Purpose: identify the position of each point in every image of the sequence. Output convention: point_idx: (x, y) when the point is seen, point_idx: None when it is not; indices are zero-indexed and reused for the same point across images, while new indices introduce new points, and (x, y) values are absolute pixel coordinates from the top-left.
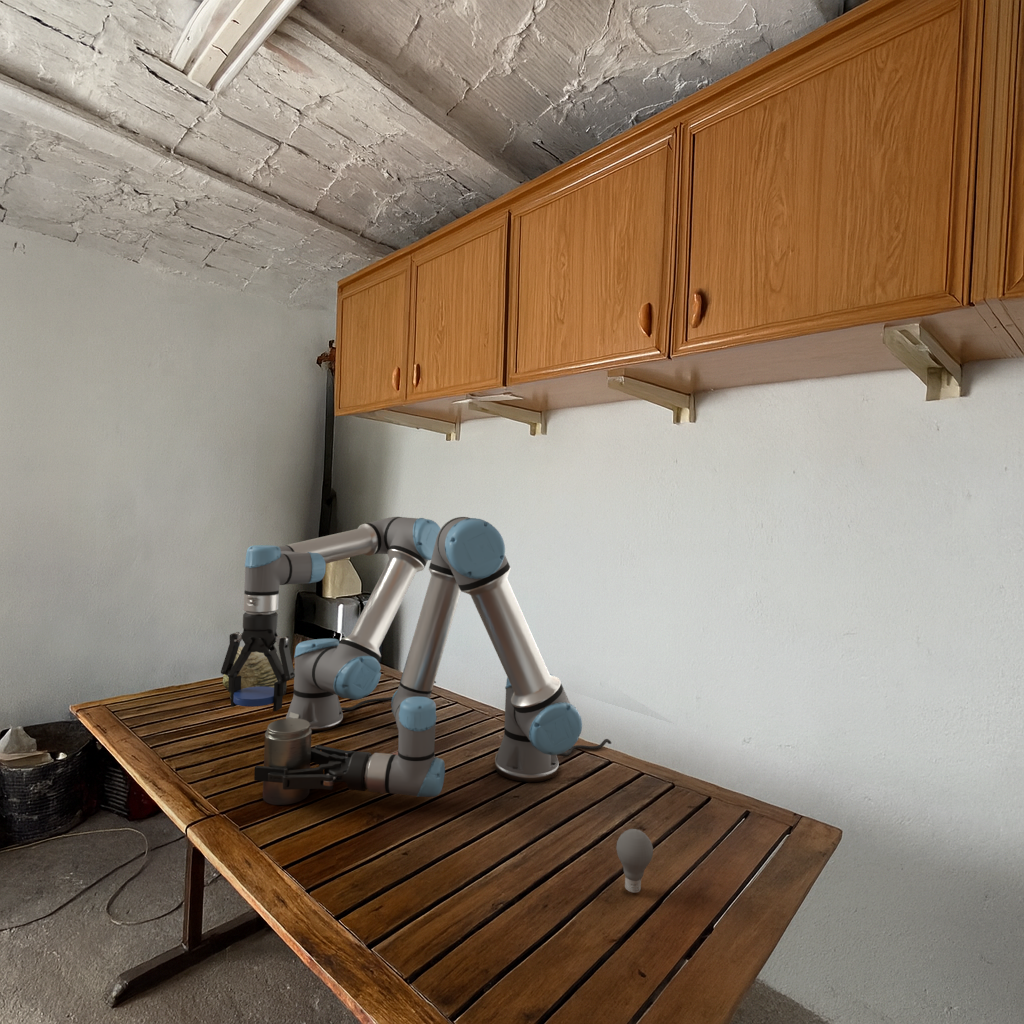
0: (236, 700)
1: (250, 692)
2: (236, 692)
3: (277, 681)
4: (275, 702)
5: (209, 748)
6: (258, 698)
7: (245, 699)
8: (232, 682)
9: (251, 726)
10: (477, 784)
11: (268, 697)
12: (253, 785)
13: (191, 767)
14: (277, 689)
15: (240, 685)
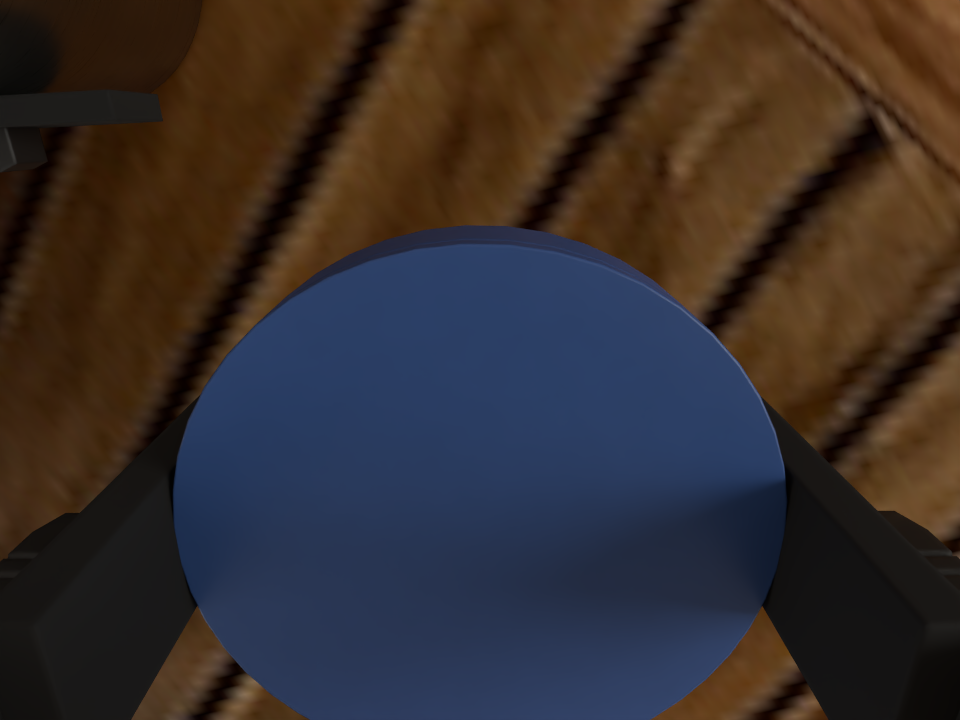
0: (639, 275)
1: (568, 529)
2: (759, 478)
3: (46, 704)
4: (170, 434)
5: (823, 423)
6: (297, 326)
7: (469, 242)
8: (923, 572)
9: (738, 694)
10: None
11: (195, 412)
12: (327, 38)
13: (804, 175)
14: (58, 553)
15: (794, 645)
